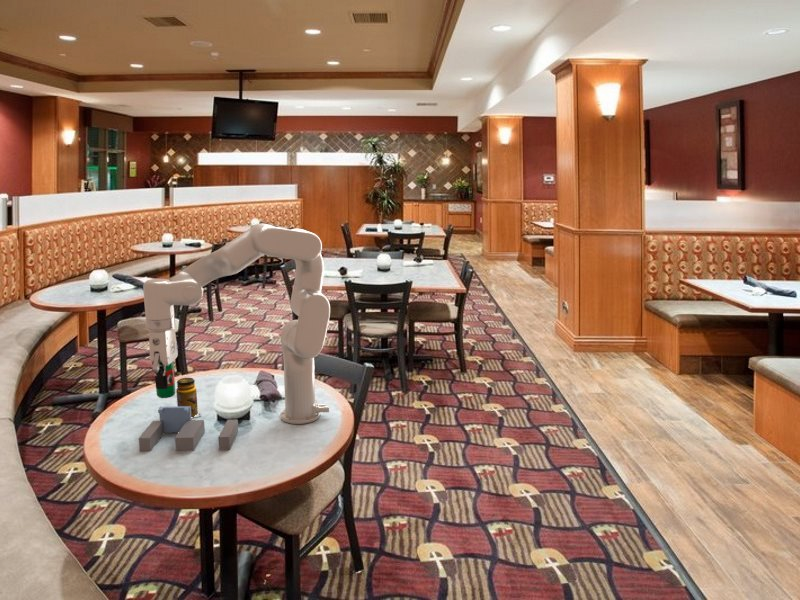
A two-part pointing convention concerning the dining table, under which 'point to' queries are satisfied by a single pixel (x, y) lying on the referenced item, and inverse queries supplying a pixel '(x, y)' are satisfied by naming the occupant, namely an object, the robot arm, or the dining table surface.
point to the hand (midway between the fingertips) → (165, 384)
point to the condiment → (187, 394)
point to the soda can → (171, 383)
